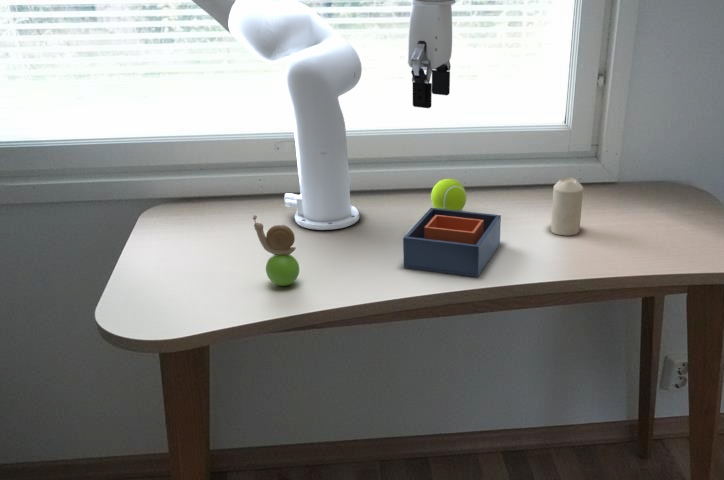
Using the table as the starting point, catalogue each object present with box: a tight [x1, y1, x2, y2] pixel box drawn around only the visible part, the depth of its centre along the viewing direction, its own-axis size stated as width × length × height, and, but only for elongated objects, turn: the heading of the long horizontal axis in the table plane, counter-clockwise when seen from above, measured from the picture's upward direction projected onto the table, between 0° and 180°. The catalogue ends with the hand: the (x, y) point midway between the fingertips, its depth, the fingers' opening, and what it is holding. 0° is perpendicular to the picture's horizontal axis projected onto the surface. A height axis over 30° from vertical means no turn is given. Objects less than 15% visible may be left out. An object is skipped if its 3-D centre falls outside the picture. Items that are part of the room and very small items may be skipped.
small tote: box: [424, 215, 484, 245], centre depth 147 cm, size 9×6×6 cm
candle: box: [550, 176, 584, 236], centre depth 157 cm, size 6×6×10 cm
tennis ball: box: [430, 178, 467, 211], centre depth 165 cm, size 7×7×7 cm
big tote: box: [402, 207, 502, 278], centre depth 148 cm, size 13×15×6 cm
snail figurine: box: [252, 214, 300, 287], centre depth 136 cm, size 5×6×12 cm
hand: (431, 100), depth 145 cm, fingers open, 9 cm apart
